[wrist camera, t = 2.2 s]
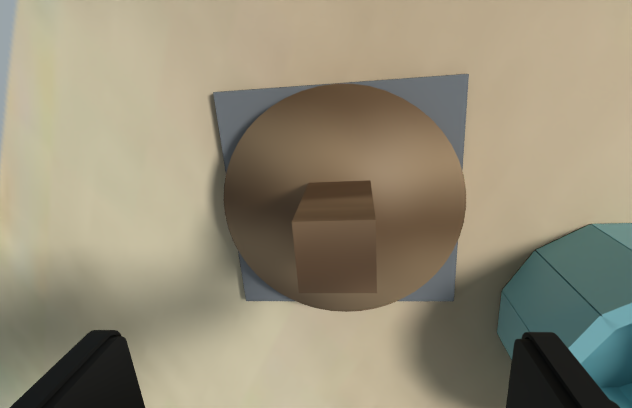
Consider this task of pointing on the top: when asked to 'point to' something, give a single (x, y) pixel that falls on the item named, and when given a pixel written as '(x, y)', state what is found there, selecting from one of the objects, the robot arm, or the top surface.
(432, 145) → the lid
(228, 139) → the mat
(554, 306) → the bowl
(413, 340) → the top surface
